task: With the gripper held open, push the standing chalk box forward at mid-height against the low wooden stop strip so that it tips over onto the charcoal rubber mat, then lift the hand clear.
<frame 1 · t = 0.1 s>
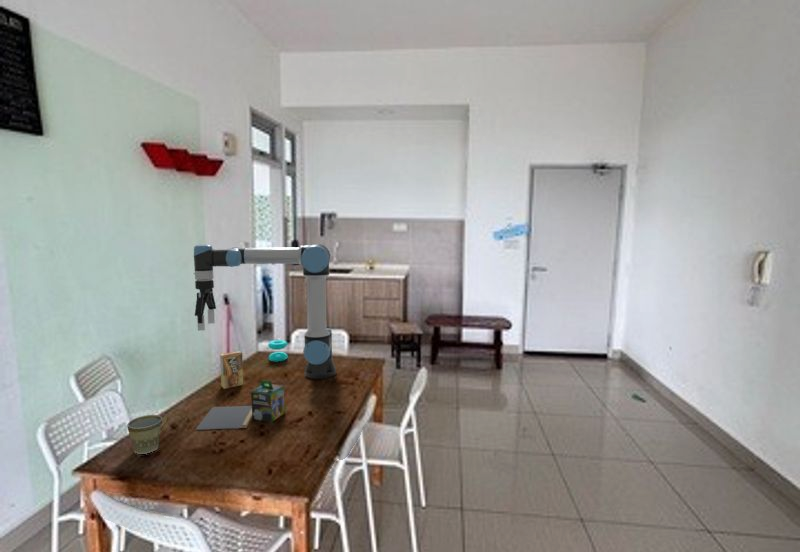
hand: (206, 326, 203), 28 cm above the table, tool pointing down, fingers open, 13 cm apart
ceramic cup: (151, 448, 150), on the table
candy box: (232, 386, 207), on the table
mat: (228, 417, 173), on the table
donuts: (278, 360, 247), on the table
chalk box: (268, 417, 175), on the table
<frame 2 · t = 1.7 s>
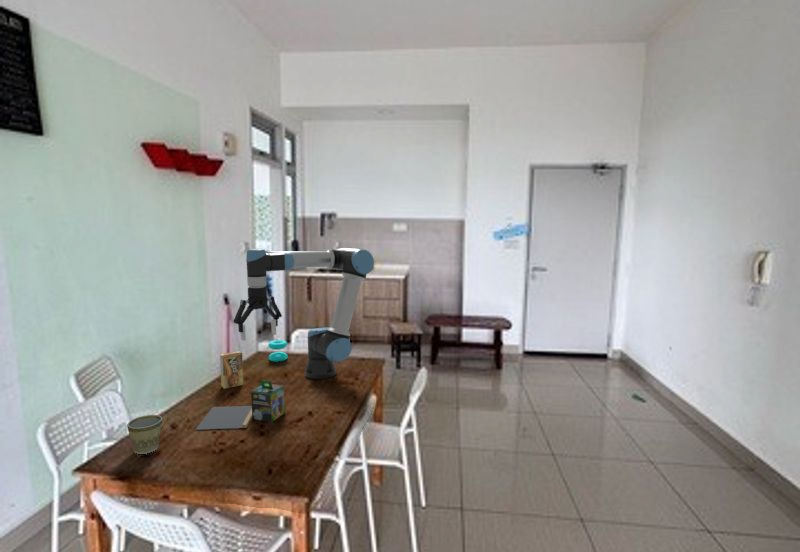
hand: (259, 337, 188), 27 cm above the table, tool pointing down, fingers open, 13 cm apart
nothing on the table moved.
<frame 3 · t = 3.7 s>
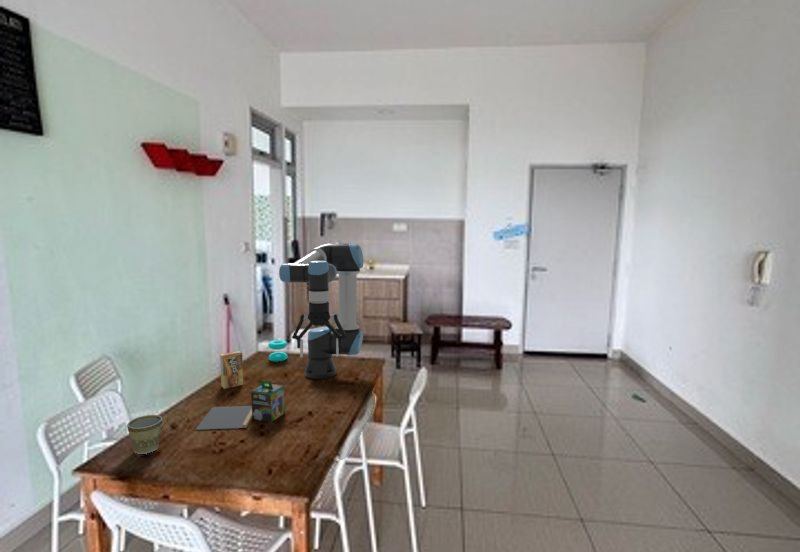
hand: (319, 356, 173), 24 cm above the table, tool pointing down, fingers open, 13 cm apart
nothing on the table moved.
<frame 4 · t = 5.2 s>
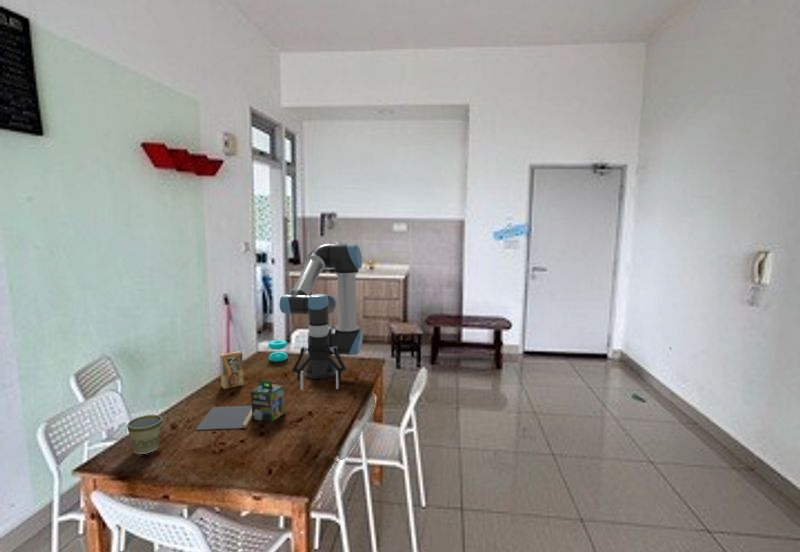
hand: (319, 388, 175), 11 cm above the table, tool pointing down, fingers open, 13 cm apart
nothing on the table moved.
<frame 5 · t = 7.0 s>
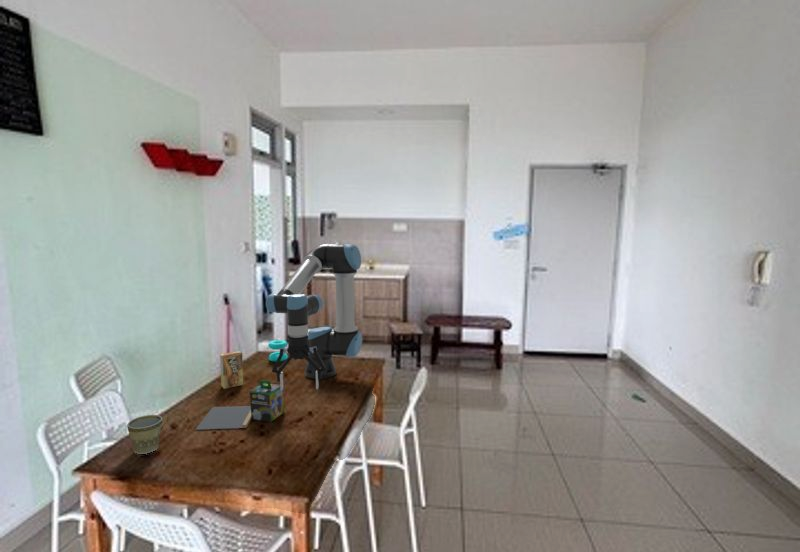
hand: (299, 388, 174), 11 cm above the table, tool pointing down, fingers open, 13 cm apart
chalk box: (267, 416, 175), on the table, touching mat
everything else where it was.
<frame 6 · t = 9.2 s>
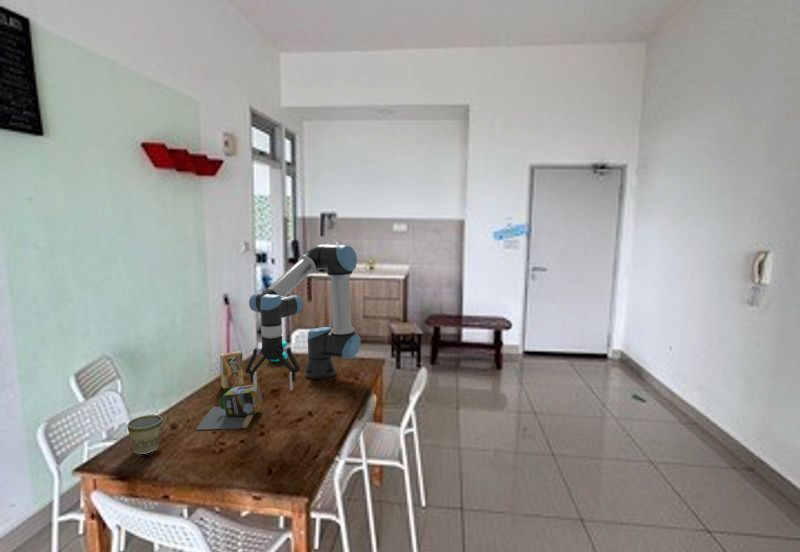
hand: (273, 389, 174), 11 cm above the table, tool pointing down, fingers open, 13 cm apart
chalk box: (258, 399, 175), point 6 cm above the table, touching gripper, mat
everything else where it was.
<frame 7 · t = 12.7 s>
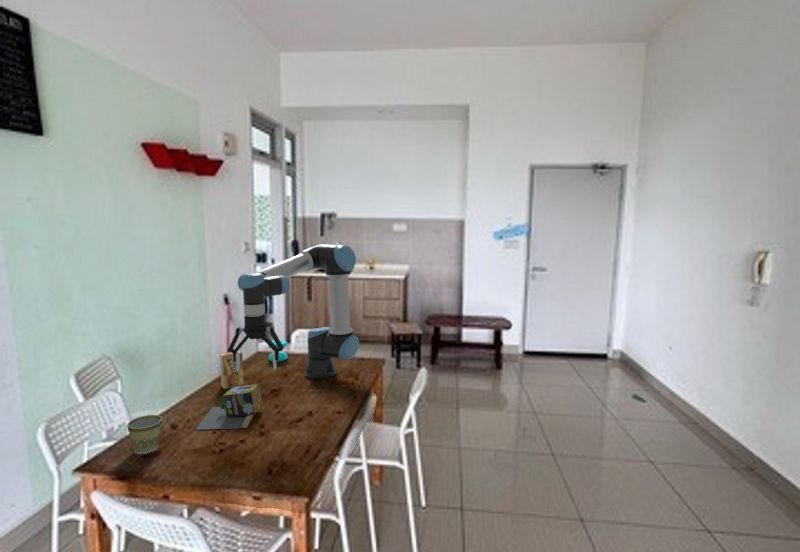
hand: (256, 369, 172), 19 cm above the table, tool pointing down, fingers open, 13 cm apart
chalk box: (258, 399, 175), point 6 cm above the table, touching mat
everything else where it was.
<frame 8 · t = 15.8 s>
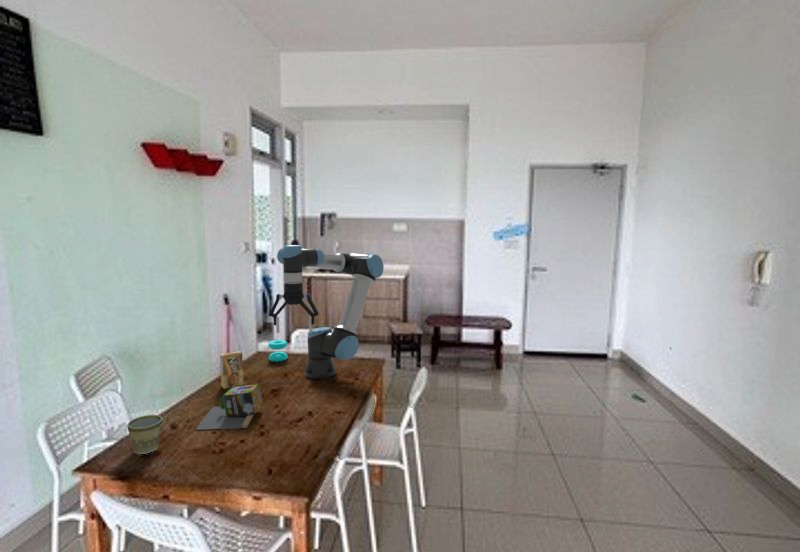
hand: (294, 332, 190), 29 cm above the table, tool pointing down, fingers open, 13 cm apart
nothing on the table moved.
at the end: chalk box tilted 97°; chalk box touching mat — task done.
